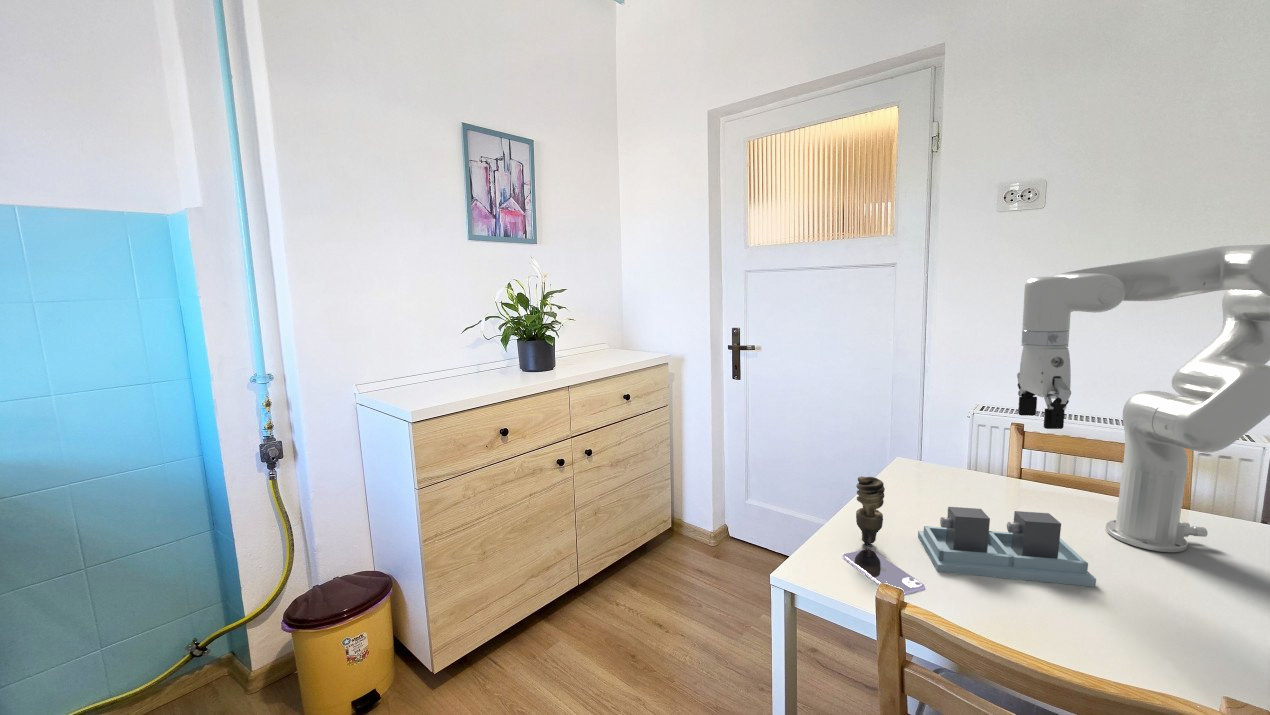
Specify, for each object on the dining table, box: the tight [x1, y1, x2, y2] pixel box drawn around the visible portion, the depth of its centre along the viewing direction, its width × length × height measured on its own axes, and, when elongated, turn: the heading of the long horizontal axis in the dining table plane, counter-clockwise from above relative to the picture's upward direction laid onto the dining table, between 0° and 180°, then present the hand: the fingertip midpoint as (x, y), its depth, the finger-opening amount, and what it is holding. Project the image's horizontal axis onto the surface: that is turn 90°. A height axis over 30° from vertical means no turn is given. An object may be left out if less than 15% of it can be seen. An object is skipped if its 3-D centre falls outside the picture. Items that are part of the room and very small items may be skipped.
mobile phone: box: [841, 548, 926, 596], centre depth 105 cm, size 8×1×15 cm
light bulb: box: [855, 475, 886, 546], centre depth 114 cm, size 6×6×15 cm
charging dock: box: [917, 525, 1097, 588], centre depth 107 cm, size 26×14×4 cm, turn 77°
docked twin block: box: [939, 506, 991, 553], centre depth 108 cm, size 8×4×8 cm, turn 77°
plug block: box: [1006, 510, 1062, 559], centre depth 106 cm, size 8×4×8 cm, turn 77°
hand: (1039, 421), depth 111 cm, fingers open, 9 cm apart
